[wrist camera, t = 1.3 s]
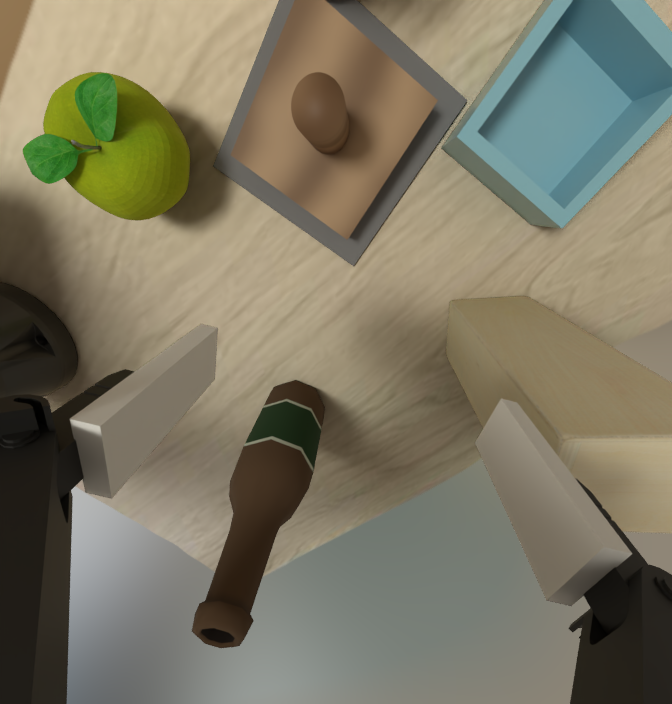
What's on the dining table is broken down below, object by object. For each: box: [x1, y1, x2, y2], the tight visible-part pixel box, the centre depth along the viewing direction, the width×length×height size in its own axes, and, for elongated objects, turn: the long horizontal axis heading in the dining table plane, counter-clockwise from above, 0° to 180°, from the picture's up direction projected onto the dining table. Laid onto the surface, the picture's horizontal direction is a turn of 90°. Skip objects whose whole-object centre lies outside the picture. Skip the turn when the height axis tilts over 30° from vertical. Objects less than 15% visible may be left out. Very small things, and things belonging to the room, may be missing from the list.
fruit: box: [23, 72, 190, 220], centre depth 24 cm, size 9×9×10 cm
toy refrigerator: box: [446, 296, 672, 533], centre depth 24 cm, size 8×7×21 cm
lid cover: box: [231, 0, 438, 240], centre depth 23 cm, size 12×12×8 cm
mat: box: [213, 0, 467, 266], centre depth 26 cm, size 16×16×1 cm
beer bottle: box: [192, 380, 325, 648], centre depth 29 cm, size 8×8×24 cm
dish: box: [442, 0, 672, 228], centre depth 23 cm, size 11×11×5 cm
